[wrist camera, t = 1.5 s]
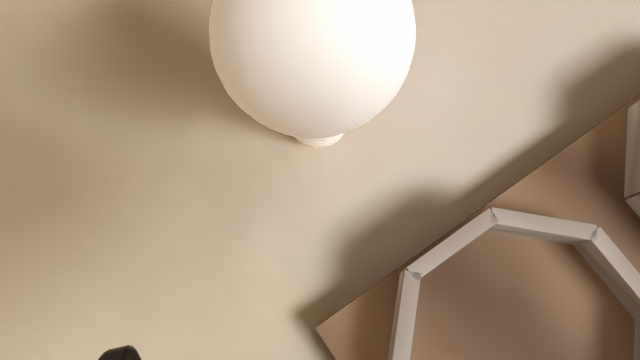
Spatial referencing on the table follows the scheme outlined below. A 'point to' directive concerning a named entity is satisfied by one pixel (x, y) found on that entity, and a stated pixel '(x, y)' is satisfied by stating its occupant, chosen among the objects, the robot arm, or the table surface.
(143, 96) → the table surface
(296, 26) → the lightbulb
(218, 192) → the table surface
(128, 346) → the robot arm
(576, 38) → the table surface
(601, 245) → the tag board
